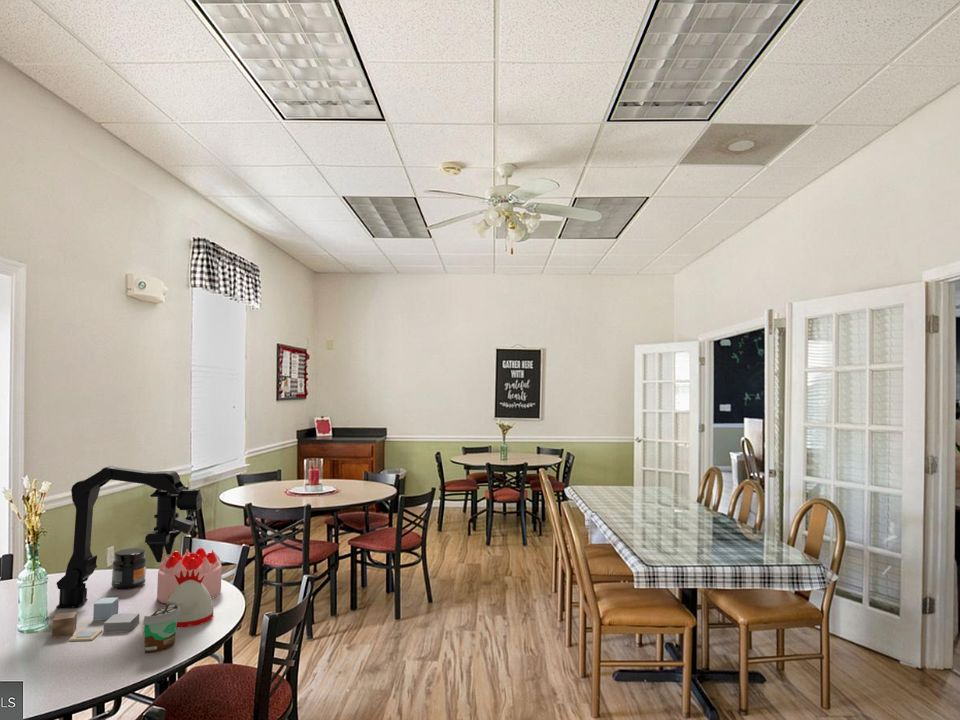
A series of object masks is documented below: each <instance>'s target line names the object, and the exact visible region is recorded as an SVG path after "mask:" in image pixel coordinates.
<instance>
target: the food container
mask: <svg viewBox="0 0 960 720" xmlns="http://www.w3.org/2000/svg"><path fill="white" fill-rule="evenodd" d="M180 614H181V612H180V607H179V605H178V604H177V603H175V602H167V604H166V605H164V606H163V607H161V608H159V609H157V610H155V611H154V612H153V613H152V614H151V615H144V618H143V622H142V625H143V628H144V654H155V653H160V652H163V651H166V650H169V649H171V648H172V647H174V645H175V642H176V631H177V628H176V627H177V618H178V616H179V615H180Z"/></svg>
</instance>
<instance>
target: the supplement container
mask: <svg viewBox="0 0 960 720" xmlns="http://www.w3.org/2000/svg"><path fill="white" fill-rule="evenodd" d="M145 556H146V549H145V548H140V547H131V548H130V547H129V548H123V549H119V550H116V551H114V556H113V557H114V560H113V561H112V563H111V566H112V569H111V571H112V573H111V585H110V586H111V587H112V588H113V589H114V590H120V591H121V590H122V591H127V590H133V589H136V588H140V587H142V586H143V585H144V584H145V583H146V574H147V573H146V571H147V561H148V560H147V558H146V557H145Z"/></svg>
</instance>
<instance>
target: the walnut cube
mask: <svg viewBox="0 0 960 720" xmlns="http://www.w3.org/2000/svg"><path fill="white" fill-rule="evenodd" d="M51 621H52V623H51V639H56V638H61V637H63V638H64V637H70V636H71V637H73V636H74V635H75V632H76V630H77V623H78V622H77V621H78V611H71V612H62V613H61V612H60V613H56V614H55V615H54V617H53V619H52V620H51ZM55 637H56V638H55Z"/></svg>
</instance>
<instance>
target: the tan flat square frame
mask: <svg viewBox="0 0 960 720" xmlns="http://www.w3.org/2000/svg"><path fill="white" fill-rule="evenodd" d="M102 632H103V630H102V629H97V630H96V629H93V630H92V629H91V630H79V631H77V632H76V633H74V634H73V635H72V636H71V637H70V638H69V639H68V642H82V641H83V642H84V641H85V642H86V641H87V642H88V641H93V640H95V639H96V638H97V637H98V636H99V635H101V634H102Z"/></svg>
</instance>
